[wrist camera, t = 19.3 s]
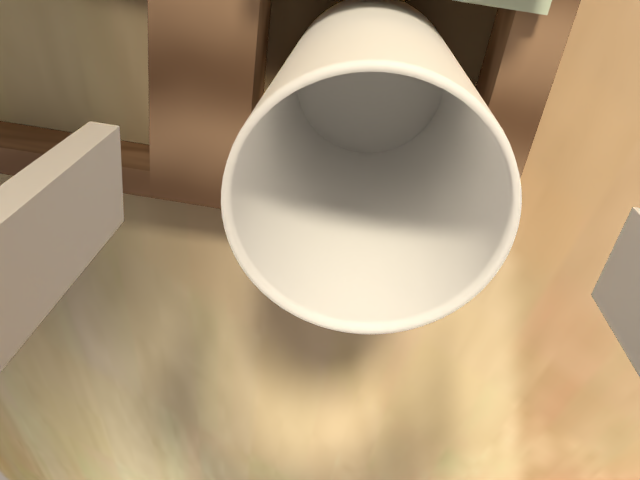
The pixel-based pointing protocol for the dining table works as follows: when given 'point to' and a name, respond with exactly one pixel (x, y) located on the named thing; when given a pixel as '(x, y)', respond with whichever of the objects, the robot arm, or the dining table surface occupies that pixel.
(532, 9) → the lid
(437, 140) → the cup
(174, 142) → the board
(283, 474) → the dining table surface
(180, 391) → the dining table surface
